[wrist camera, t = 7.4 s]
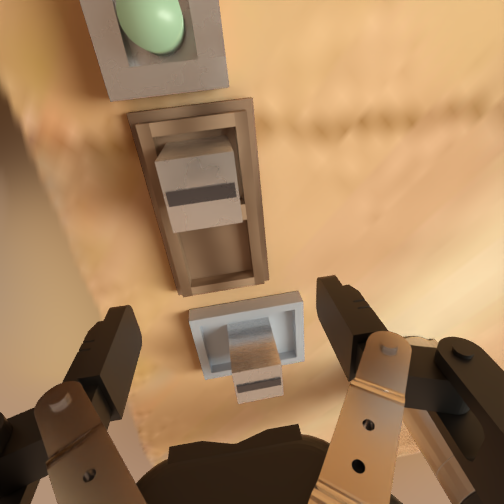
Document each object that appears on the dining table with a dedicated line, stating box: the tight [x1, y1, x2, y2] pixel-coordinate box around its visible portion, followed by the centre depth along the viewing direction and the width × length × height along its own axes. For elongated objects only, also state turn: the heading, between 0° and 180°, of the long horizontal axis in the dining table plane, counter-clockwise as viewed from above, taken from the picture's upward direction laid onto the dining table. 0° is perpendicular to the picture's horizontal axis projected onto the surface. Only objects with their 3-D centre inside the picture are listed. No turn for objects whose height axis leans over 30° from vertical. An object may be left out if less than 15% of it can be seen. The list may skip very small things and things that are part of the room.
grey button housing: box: [79, 0, 229, 102], centre depth 20 cm, size 8×8×4 cm
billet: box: [227, 317, 284, 404], centre depth 34 cm, size 5×5×7 cm
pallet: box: [127, 98, 269, 297], centre depth 28 cm, size 10×18×2 cm, turn 6°
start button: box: [116, 0, 185, 56], centre depth 18 cm, size 3×3×4 cm
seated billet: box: [155, 135, 243, 233], centre depth 23 cm, size 5×5×7 cm
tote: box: [189, 291, 305, 380], centre depth 37 cm, size 13×10×2 cm
